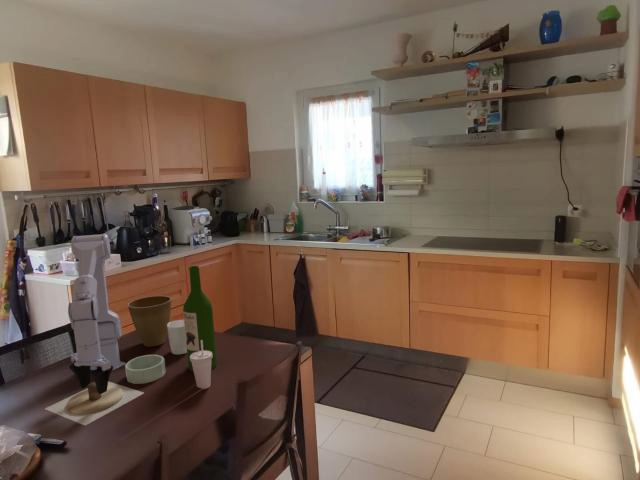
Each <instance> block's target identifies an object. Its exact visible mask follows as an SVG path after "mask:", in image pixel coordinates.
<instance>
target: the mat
mask: <svg viewBox="0 0 640 480" xmlns="http://www.w3.org/2000/svg"><path fill="white" fill-rule="evenodd" d="M108 386H116V387H119V388H121V389H122V391H123V397H122V399H121V400H120V401H119V402H118V403H117V404H115V405H113V406H112V407H110V408H107V409H105V410H102V411H99V412H96V413H91V414H82V415H79V414H72V413H70V412H69V411H68V410H67V406H66V405H67V402H68V401H69V400H70V399H71V398H72V397H73V396H75V395H77V394H78V393H80V392H83V391H85V390H88V387H86V389H85V388H84V390H80V391H79V392H77V393H75V394H72V395H71V396H69V397H65V398H64V399H62V400H60V401H58V402H56V403H54V404H52V405H49V406H47V407H45V408H44V410H46V411H48V412H50V413H52V414H54V415H58V416H60V417H62V418H65V419H67V420H70V421H72V422H75V423H77V424H80V425H82V426H88V425H89V424H91V423H93V422H95V421H97V420H98V419H101V418H102V417H104V416H105V415H108V414H110V413H111V412H113V411H115V410H117V409H118V408H120V407H122V406H124V405H125V404H127V403H129V402H131V401H133V400H134V399H136V398H139V397H140V396H142V395H144V394H145V392H143V391H140V390H137V389H134V388H130V387H127V386H124V385H121V384H118V383H114V382H112V381H108Z"/></svg>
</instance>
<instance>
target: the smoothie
mask: <svg viewBox="0 0 640 480" xmlns="http://www.w3.org/2000/svg"><path fill="white" fill-rule="evenodd" d="M212 357H213V356H212V352H210V351H203V340H201V351H197V352H194V353H192V354H191V355H190V361H191V362H192V366H193V371H192V372H193V375H194V378H195V379H194V380H195V383H196V387H197V388H199V389H200V390H206V389H209V388H210V387H211V382H212V381H211V377H212V369H211V358H212Z"/></svg>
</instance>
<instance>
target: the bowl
mask: <svg viewBox="0 0 640 480" xmlns="http://www.w3.org/2000/svg"><path fill="white" fill-rule="evenodd" d="M124 369H125V375H126V380H127V382H128V383H130V384H134V385H137V384H140V385H141V384H149V383H151V382H154V381H157V380H158V379H161V378H163V376H165V373H166V361H165V358H164V357H163V355H159V354H145V355H141V356H136V357H135V358H132V359H130V360H129V361H127V363H126V364H125V365H124Z"/></svg>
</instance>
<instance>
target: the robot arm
mask: <svg viewBox="0 0 640 480" xmlns="http://www.w3.org/2000/svg"><path fill="white" fill-rule="evenodd" d="M70 242H71V243H70V246H71V252H72V254H73V255H74V257H75V259H76V260H78V269H79V270H78V272H79V273H78V275H79V276H78V277H76V278H75V280H74V282H73V289H72V302H69V303H68V305H67V306H68V307H67V315H68V319H69V321H70V326H71V329H72V330H73V333H74V341H75V342H74V343H75V348H76V349H75V350H76V352H75V353H72V354H70V359H71V362H73V363H72V364H70V365H69V369H70V370H71V371H72V372H73V374H74V375H75V377H76V379H77V382H78V383H79V386H80V387H81V389H85V388H88V387H87V385H88V384H90V383H91V377H92V379H93V382H95V383H96V387H97V391H98V393H99V394H102V393H104V392H106V391H107V387H108V381H109V380H110V378H111V377H110V376H111V374H112V371H114V370H117V369H118V368H120V367H121V368H122V367H123V366H125V365H126V364H127V363H126V362H125V361H121V357H120V351H119V344H118V340H120V338H121V337H122V324H121V320H120V316H119V314H118V313H116V312H114V311H112V310H110V307H109V305H110V304H109V298H108V297H109V296H108V289H107V287H108V286H107V279H106V278H107V277H106V269H105V264H106V260H108V259H110V258H111V255H112V253H111V252H112V251H111V244H110V239H109V235H108V234H107V233H101V234H91V235H90V234H89V235H73V236H72V238H71V241H70ZM109 382H110V381H109Z"/></svg>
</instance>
